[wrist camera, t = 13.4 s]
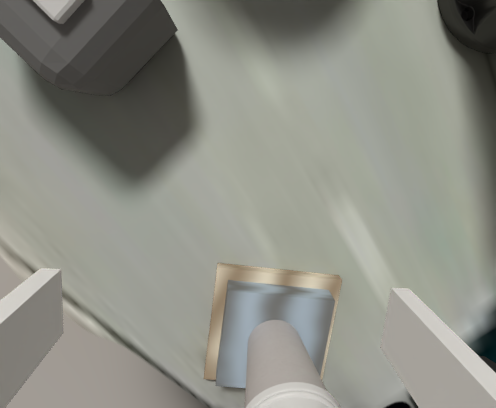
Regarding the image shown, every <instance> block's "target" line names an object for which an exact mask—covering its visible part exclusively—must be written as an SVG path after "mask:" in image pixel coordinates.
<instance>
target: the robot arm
mask: <svg viewBox="0 0 496 408" xmlns="http://www.w3.org/2000/svg"><path fill="white" fill-rule="evenodd" d="M438 1H439V7H440V11H441V14H442V16H443V19H444V21H445V23H446V25H447V27H448V28H449V30H450V31H451V33H452V34H453V35H454V36H455V37H456V38H457V39H458V40H459V41H460V42H462V43H463V44H464V45H466V46H468V47H469V48H471V49H474V50H476V51H480V52H484V53H496V0H438ZM62 334H63V307H62V279H61V269H47V268H40V269H39V270H38V271H37V272H35V273H34V274H33V275H32V276H30V277H29V278H28V279H27V280H25V281H24V282H23V283H22V284H20V285H19V286H18V287H17V288H15V289H14V290H13V291H12V292H10V293H9V294H8V295H7V296H5V297H4V298H3V299H1V300H0V408H6V406H7V405H8V404H9V402H10V401H11V400H12V399H13V397H14V396H15V395H16V393H17V392H18V391H19V389H20V388H21V387H22V386H23V384H24V383H25V381H26V380H27V379H28V378H29V377H30V375H31V374H32V373H33V371H34V370H35V369H36V367H37V366H38V365H39V364H40V362H41V361H42V360H43V358H44V357H45V356H46V355H47V353H48V352H49V351H50V350H51V348H52V347H53V346H54V344H55V343H56V342H57V340H58V339H59V338H60V337H61V335H62ZM380 348H381V349H382V351H383V353H384V354H385V356H386V357H387V359H388V360H389V362H390V363H391V365H392V367H393V368H394V370H395V371H396V373H397V374H398V376H399V377H400V379H401V381H402V382H403V384H404V385H405V387H406V388H407V390H408V391H409V393H410V395H411V396H412V398H413V399H414V401H415V402H416V404H417V406H418V407H419V408H496V363H494V362H492V361H491V360H489V359H488V358H486V357H484V356H478V355H477V354H476V353H475V352H474V351H473V350H472V349H471V348H470V347H469V346H468V345H467V344H465V343H464V342H463V341H462V340H461V339H460V338H459V337H458V336H457V335H456V334H455V333H454V332H453V331H452V330H451V329H450V328H449V327H448V326H447V325H446V324H445V323H444V322H443V321H442V320H441V319H440V318H439V317H438V316H437V315H436V314H435V313H434V312H433V311H432V310H431V309H430V308H429V307H427V306H426V305H425V304H424V303H423V302H422V301H421V300H420V299H419V298H418V297H417V296H416V295H415V294H414V293H413V292H412V291H411V290H410V289H405V288H391V291H390V296H389V302H388V307H387V313H386V318H385V324H384V330H383V335H382V341H381V346H380Z"/></svg>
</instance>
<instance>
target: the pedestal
mask: <svg viewBox="0 0 496 408" xmlns="http://www.w3.org/2000/svg"><path fill="white" fill-rule="evenodd" d="M341 283H342V279H341V278H340V276H339V275H330V274H320V273H311V272H301V271H291V270H281V269H272V268H262V267H252V266H243V265H233V264H223V263H218V264H217V272H216V280H215V289H214V297H213V305H212V313H211V322H210V330H209V338H208V346H207V355H206V363H205V371H204V379H210V380H216V386H224V387H237V388H246V370H247V349H248V339H249V336H250V334H251V332H252V331H253V330H254V328H255V327H257V326H258V325H259V324H261V323H263V322H265V321H269V320H282V321H285V322H288V323H289V324H291V325H292V326H293V327H294V328H295V329H296V330H297V332H298V334H299V336H300V338H301V340H302V342H303V344H304V346H305V348H306V350H307V352H308V354H309V356H310V358H311V360H312V362H313V364H314V366H315V368H316V370H317V372H318V374H319V376H320V378H321V380H322V378H323V373H324V368H325V363H326V358H327V353H328V348H329V343H330V338H331V333H332V328H333V323H334V318H335V313H336V308H337V303H338V298H339V293H340V288H341Z"/></svg>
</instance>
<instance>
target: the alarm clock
mask: <svg viewBox="0 0 496 408" xmlns="http://www.w3.org/2000/svg"><path fill="white" fill-rule="evenodd" d="M177 30H178V29H177V28H176V26H175V24H174V22H173V21H172V19H171V17H170V15H169V13H168V12H167V10H166V8H165V6H164V5H163V3H162V2H161V1H160V0H0V38H1V39H2V40H4V41H5V42H6V43H7V44H8V45H9V46H10V47H11V48H12V49H13V50H14V51H15V52H16V53H17V54H18V55H19V56H20V57H21V58H22V59H24V60H25V61H26V62H27V63H28V64H29V65H30V66H31V67H32V68H33V69H34V70H35V71H36V72H37V73H38V74H39V75H40V76H41V77H42V78H44V79H45V80H46V81H48V82H50V83H52V84H53V85H55V86H57V87H58V88H60V89H64V90H70V91H75V92H81V93H87V94H93V95H112V94H114V93H116V92H117V91H119V90H121V89H122V88H123V87H124V86H125V85H126V84H127V83H128V82H129V81H130V80H131V79H132V78H133V77H134V76H135V75H136V74H137V72H138V71H139V70H140V69H141V68H142V67H143V66H144V65H145V64H146V63H147V62H148V61H149V60H150V59H151V58H152V57H153V56H154V54H155V53H156V52H157V51H158V50H159V49H160V48H161V47H162V46H163V45H164V44H165V43H166V42H167V41H168V40H169V39H170V38H171V36H172V35H173V34H174V33H175V32H176V31H177Z"/></svg>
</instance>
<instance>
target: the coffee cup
mask: <svg viewBox="0 0 496 408" xmlns="http://www.w3.org/2000/svg"><path fill="white" fill-rule="evenodd" d="M245 408H341V406H340V404H339V403H338V401H337V400H336V399H335V398H334V397H333V396H332V395H331V394H330V393H329V392H327V390H326V388H325V386H324V384H323V382H322V380H321V378H320V376H319V374H318V372H317V370H316V368H315V366H314V364H313V362H312V360H311V358H310V356H309V354H308V352H307V350H306V348H305V346H304V344H303V342H302V340H301V338H300V336H299V334H298V332H297V330H296V329H295V328H294V327H293V326H292V325H291V324H289V323H288V322H285V321H282V320H269V321H265V322H263V323H261V324H259V325H258V326H257V327H255V328H254V330H253V331H252V332H251V334H250V336H249V339H248V349H247V370H246V391H245Z"/></svg>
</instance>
